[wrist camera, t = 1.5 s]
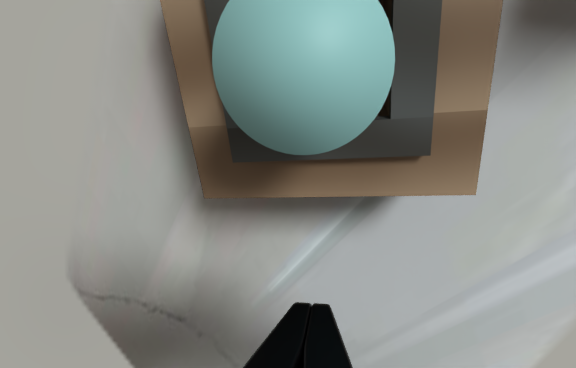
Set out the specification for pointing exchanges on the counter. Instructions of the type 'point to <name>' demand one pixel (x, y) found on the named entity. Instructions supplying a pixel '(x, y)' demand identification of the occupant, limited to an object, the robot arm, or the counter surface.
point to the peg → (303, 70)
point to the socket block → (383, 129)
